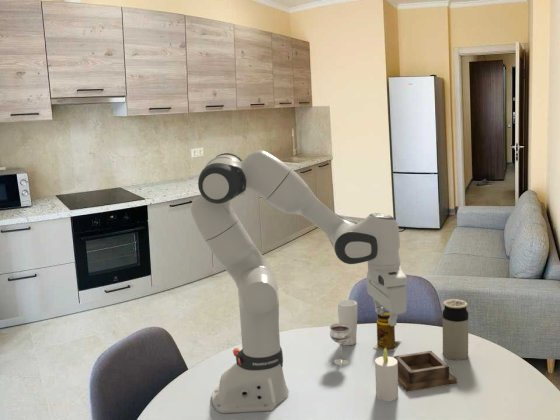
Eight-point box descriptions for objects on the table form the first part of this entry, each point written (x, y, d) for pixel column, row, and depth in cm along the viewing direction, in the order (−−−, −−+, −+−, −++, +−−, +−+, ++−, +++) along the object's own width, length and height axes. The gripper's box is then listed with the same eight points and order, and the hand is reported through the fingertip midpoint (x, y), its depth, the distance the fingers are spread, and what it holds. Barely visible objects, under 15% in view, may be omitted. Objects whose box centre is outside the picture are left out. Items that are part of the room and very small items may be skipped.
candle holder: (406, 391, 156) (406, 375, 155) (387, 370, 170) (387, 355, 169) (457, 383, 159) (457, 367, 158) (434, 362, 173) (434, 348, 172)
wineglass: (355, 363, 175) (354, 328, 173) (337, 368, 173) (335, 333, 171) (345, 355, 181) (344, 321, 179) (327, 359, 179) (325, 325, 177)
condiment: (373, 348, 185) (372, 315, 183) (380, 339, 193) (379, 307, 191) (394, 352, 182) (393, 318, 180) (400, 342, 189) (400, 309, 187)
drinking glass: (357, 347, 187) (356, 306, 184) (338, 346, 188) (336, 306, 186) (358, 339, 193) (357, 299, 191) (340, 338, 195) (338, 299, 192)
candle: (398, 390, 157) (397, 342, 155) (397, 401, 151) (396, 351, 148) (377, 388, 159) (375, 340, 156) (374, 399, 153) (373, 350, 150)
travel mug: (470, 360, 173) (470, 307, 170) (444, 360, 174) (444, 307, 171) (465, 349, 180) (466, 298, 177) (441, 349, 182) (441, 298, 179)
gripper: (360, 263, 158) (362, 307, 160) (387, 283, 138) (389, 334, 141) (380, 260, 159) (382, 305, 162) (410, 280, 139) (411, 330, 142)
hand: (385, 318), depth 151 cm, fingers open, 8 cm apart
